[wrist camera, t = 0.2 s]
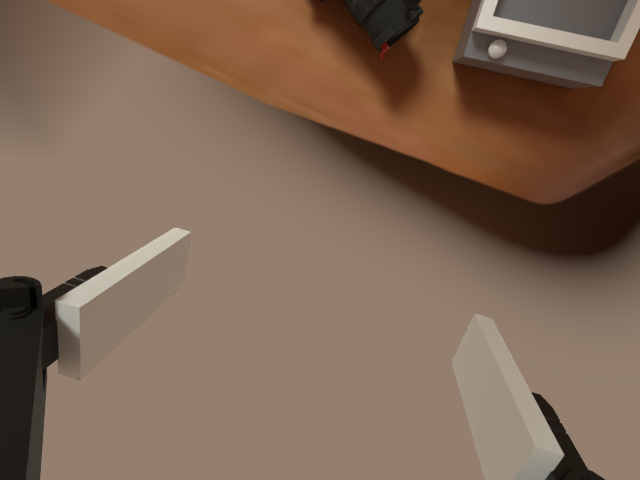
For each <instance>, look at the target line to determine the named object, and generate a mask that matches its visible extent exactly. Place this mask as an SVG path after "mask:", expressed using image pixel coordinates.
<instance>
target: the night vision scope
mask: <svg viewBox="0 0 640 480" xmlns="http://www.w3.org/2000/svg"><path fill="white" fill-rule="evenodd" d="M319 1H320V2H323V1H324V0H319ZM343 1H344V3H345V5H346V6H347V8H348V9H349V11H350V12H351V14H352V16H353V17H354V19H355V20H356V22H357V24H358V25H360V26H361V27H362V26H364V28H365V30H366V32H367V33H368V35H369V36H370V38H371V40H372V41H373V45H374V46H375V48H376V49H378V51H380V52H382V53H381V57H380V58H381V59H380V60H382V59H384V56H385V53H386V51H387V50H388V49H389V48H390V46H391V45H392V44H394V43H395V42H396V41H398V40H399V39H400V38H401V37H403V36H404V35H405V34H406V33H407V32H408V31H410V30H411V29H412V28H413V27H414V26H415V25H416V24H417V23H418V22H419V16H420V15H421V14H422V13H423V12H424V11H423V10H422V8H421V7H420V6H418V4H419V3H420V2H421V0H343Z"/></svg>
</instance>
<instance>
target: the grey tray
mask: <svg viewBox="0 0 640 480" xmlns="http://www.w3.org/2000/svg"><path fill="white" fill-rule="evenodd" d="M639 28H640V0H472V3H471V6H470V9H469V12H468V15H467V18H466V21H465V25H464V28H463V31H462V34H461V37H460V40H459V43H458V47H457V50H456V53H455V56H454V59H453V62H454V63H458V64H462V65H467V66H471V67H476V68H480V69H485V70H489V71H494V72H498V73H503V74H507V75H512V76H516V77H521V78H525V79H530V80H534V81H539V82H543V83H548V84H552V85H557V86H561V87H566V88H570V89H579V88H592V87H602V85H603V82H604V80H605V78H606V76H607V74H608V72H609V70H610V67H611V65H612V63H613V61H618V60H624V59H625V57H626V55H627V53H628V51H629V49H630V47H631V45H632V43H633V41H634V39H635V37H636V35H637V32H638V30H639Z"/></svg>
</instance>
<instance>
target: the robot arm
mask: <svg viewBox="0 0 640 480" xmlns="http://www.w3.org/2000/svg"><path fill="white" fill-rule="evenodd" d="M190 235H191V232H189V231H185V230H182V229H178V228H173V229H172V230H170V231H168V232H167V233H165V234H164V235H162V236H160V237H159V238H157V239H155V240H154V241H152V242H150V243H149V244H147V245H145V246H144V247H142V248H140V249H139V250H137V251H135V252H134V253H132V254H130V255H129V256H127V257H126V258H124V259H122V260H121V261H119V262H117V263H116V264H114V265H112V266H111V267H109V268H107V267H104V266H99V267H96V268H92V269H89V270H86V271H84V272H82V273H81V274H79V275H77V276H75V278H72V279H70V280H68V281H67V282H65V284H61V285H59V286H58V287H56V288H54V289H52V290H51V291H49V292H47V293H46V294H44V295H42V286H41V283H40V282H39V281H38V280H36V279H34V278H30V277H25V276H13V277H6V278H2V279H0V480H40V472H41V458H42V444H43V428H44V415H45V400H46V386H47V367H48V366H49V365H51V364H52V363H53V362H54V361H56V360H57V359H58V373H59V374H61V375H65V376H68V377H71V378H74V379H78V380H82V379H83V378H84V377H85V376H86V375H87V374H88V373H90V372H91V371H92V370H93V369H94V368H95V367H96V366H97V365H98V364H99V363H100V362H101V361H102V360H103V359H105V358H106V357H107V356H108V355H109V354H110V353H111V352H112V351H113V350H114V349H115V348H116V347H118V346H119V344H121V343H122V342H123V341H124V340H125V339H126V338H127V337H128V336H129V335H130V334H132V332H134V331H135V330H136V329H137V328H138V327H139V326H140V325H141V324H142V323H143V322H144V321H146V320H147V319H148V318H149V317H150V316H151V315H152V314H153V313H154V312H155V311H156V310H157V309H158V308H160V306H162V305H163V304H164V303H165V302H166V301H167V300H168V299H169V298H170V297H171V296H172V295H173V294H175V293H176V292H177V291H178V290H179V289H180V288H181V287H182V286H183V285H184V284H185V280H186V270H187V262H188V252H189V244H190ZM451 363H452V366H453V370H454V373H455V376H456V380H457V384H458V387H459V391H460V395H461V398H462V401H463V405H464V409H465V412H466V416H467V419H468V423H469V426H470V430H471V433H472V437H473V440H474V444H475V448H476V451H477V454H478V458H479V462H480V465H481V469H482V473H483V476H484V480H604V479H603V478H602V477H600V476H599V475H597V474H596V473H594V472H593V471H590V470H588V469H587V467H586V465H585V463H584V462H583V460H582V458H581V457H580V455H579V453H578V451H577V450H576V448H575V446H574V444H573V443H572V441H571V439H570V437H569V436H568V434H566V431H565V429H564V427H563V426H562V423H560V420H559V418H558V416H557V415H556V413H555V411H554V410H553V408H552V407H551V406H550V404H549V403H548V402H546V400H545V399H544V398H543V397H542V396H541V395H540V394H536V393H533V392H531V391H530V389H529V387H528V386H527V383H526V382H525V380H524V378H523V376H522V374H521V372H520V370H519V368H518V366H517V365H516V363H515V361H514V359H513V357H512V355H511V353H510V351H509V349H508V348H507V346H506V344H505V342H504V340H503V338H502V336H501V335H500V333H499V331H498V329H497V327H496V325H495V323H494V321H493V319H492V318H489V317H486V316H482V315H478V314H474V316H473V318H472V320H471V322H470V324H469V327H468V328H467V331H466V333H465V335H464V337H463V339H462V341H461V343H460V346H459V347H458V350H457V352H456V354H455V356H454V358H453V360H452V362H451Z"/></svg>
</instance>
